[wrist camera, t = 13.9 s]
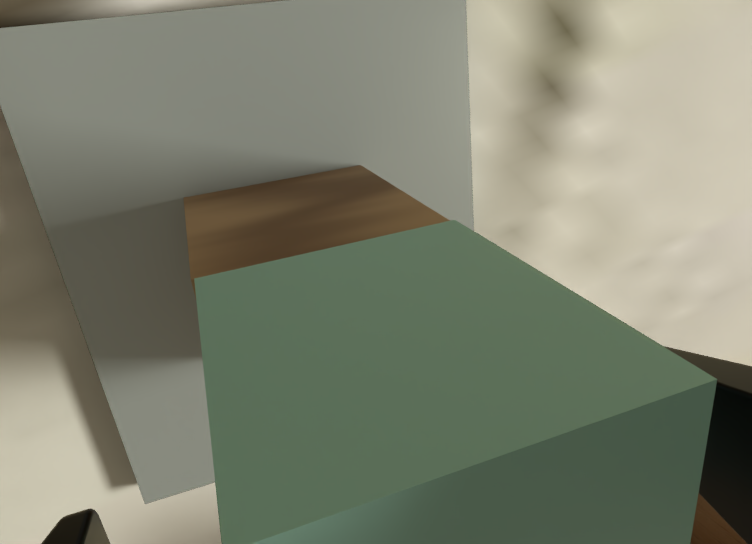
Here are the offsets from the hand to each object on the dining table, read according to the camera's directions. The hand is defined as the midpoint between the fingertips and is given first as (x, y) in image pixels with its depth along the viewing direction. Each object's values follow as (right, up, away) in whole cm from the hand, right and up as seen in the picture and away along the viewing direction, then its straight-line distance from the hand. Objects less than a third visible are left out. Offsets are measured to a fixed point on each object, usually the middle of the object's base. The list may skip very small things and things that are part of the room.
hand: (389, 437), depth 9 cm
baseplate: (-3, +3, +8) cm, 9 cm away
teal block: (-1, +1, +2) cm, 2 cm away
